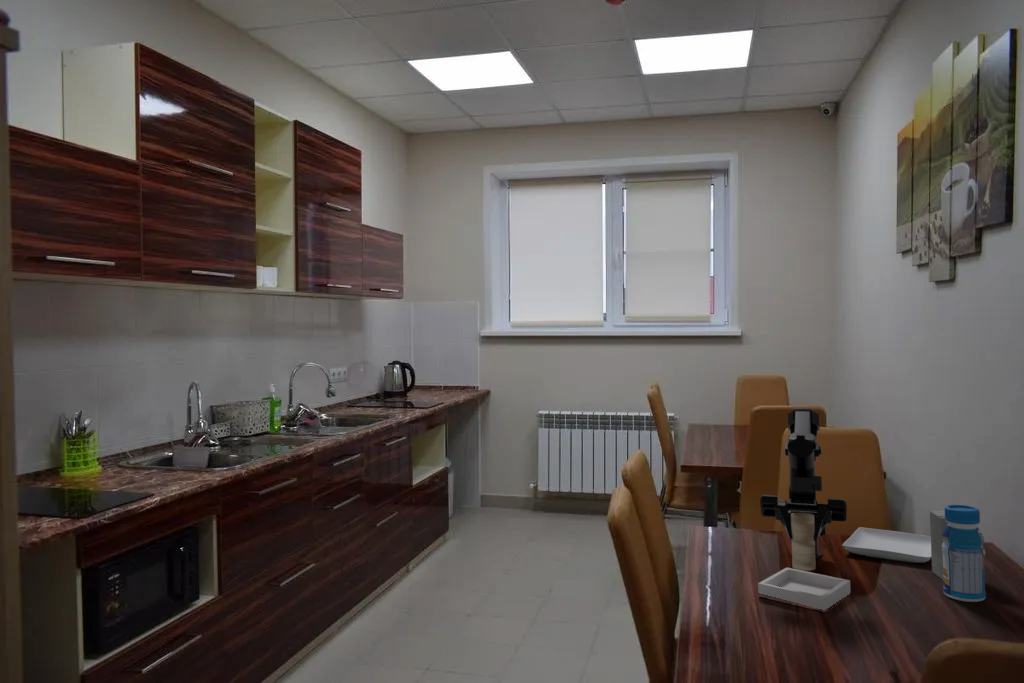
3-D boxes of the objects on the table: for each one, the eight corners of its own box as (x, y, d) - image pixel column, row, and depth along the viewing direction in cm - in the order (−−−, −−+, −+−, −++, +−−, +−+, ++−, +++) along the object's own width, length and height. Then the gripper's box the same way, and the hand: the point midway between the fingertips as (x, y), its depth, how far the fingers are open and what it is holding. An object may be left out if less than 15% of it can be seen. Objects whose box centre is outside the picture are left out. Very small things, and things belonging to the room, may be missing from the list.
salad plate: (931, 569, 184) (930, 556, 184) (841, 556, 197) (840, 544, 197) (942, 549, 201) (942, 536, 201) (859, 538, 214) (858, 526, 214)
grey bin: (786, 580, 178) (786, 567, 178) (850, 594, 168) (850, 580, 168) (758, 597, 168) (758, 583, 168) (824, 613, 157) (824, 598, 157)
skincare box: (965, 572, 180) (963, 508, 180) (981, 582, 173) (979, 515, 173) (929, 572, 181) (927, 508, 181) (943, 582, 174) (941, 515, 174)
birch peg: (805, 562, 171) (804, 511, 171) (820, 568, 166) (819, 516, 166) (787, 565, 169) (786, 513, 169) (802, 571, 165) (800, 518, 165)
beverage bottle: (965, 605, 159) (963, 513, 159) (933, 592, 167) (931, 505, 167) (996, 600, 162) (993, 510, 161) (963, 588, 170) (960, 502, 170)
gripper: (759, 461, 175) (757, 518, 165) (845, 464, 168) (848, 524, 158) (762, 487, 182) (760, 543, 172) (844, 491, 175) (847, 550, 165)
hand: (803, 540), depth 166 cm, fingers closed on birch peg, 5 cm apart
